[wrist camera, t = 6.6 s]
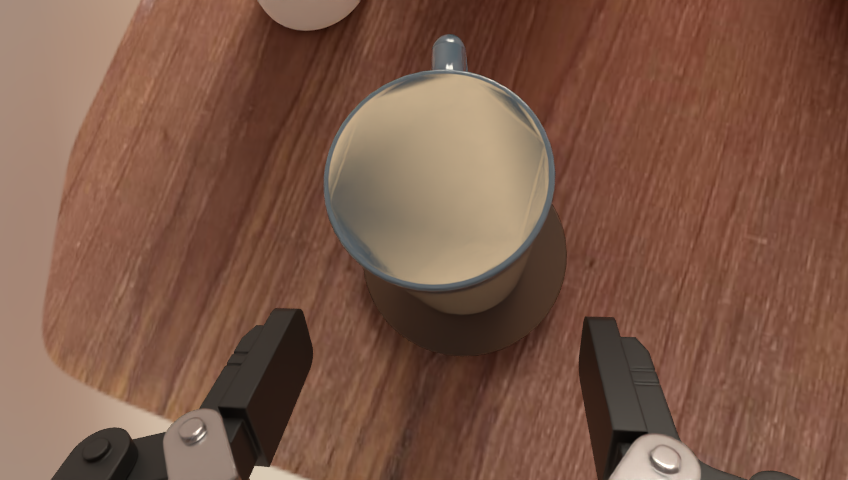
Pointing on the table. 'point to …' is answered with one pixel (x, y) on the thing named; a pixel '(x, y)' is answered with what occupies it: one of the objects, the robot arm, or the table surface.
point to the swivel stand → (488, 326)
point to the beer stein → (441, 184)
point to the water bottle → (308, 12)
